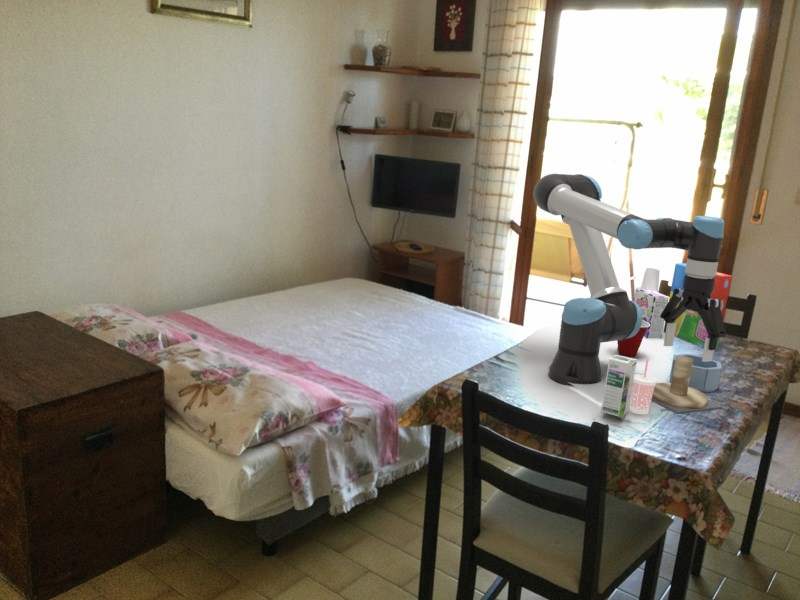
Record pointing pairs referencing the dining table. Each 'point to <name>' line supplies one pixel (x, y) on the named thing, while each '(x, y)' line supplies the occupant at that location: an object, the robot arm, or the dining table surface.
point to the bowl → (702, 373)
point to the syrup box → (618, 385)
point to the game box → (691, 321)
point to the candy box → (651, 310)
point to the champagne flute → (650, 280)
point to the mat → (678, 410)
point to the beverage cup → (642, 392)
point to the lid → (680, 387)
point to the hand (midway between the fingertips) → (686, 353)
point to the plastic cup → (632, 342)
